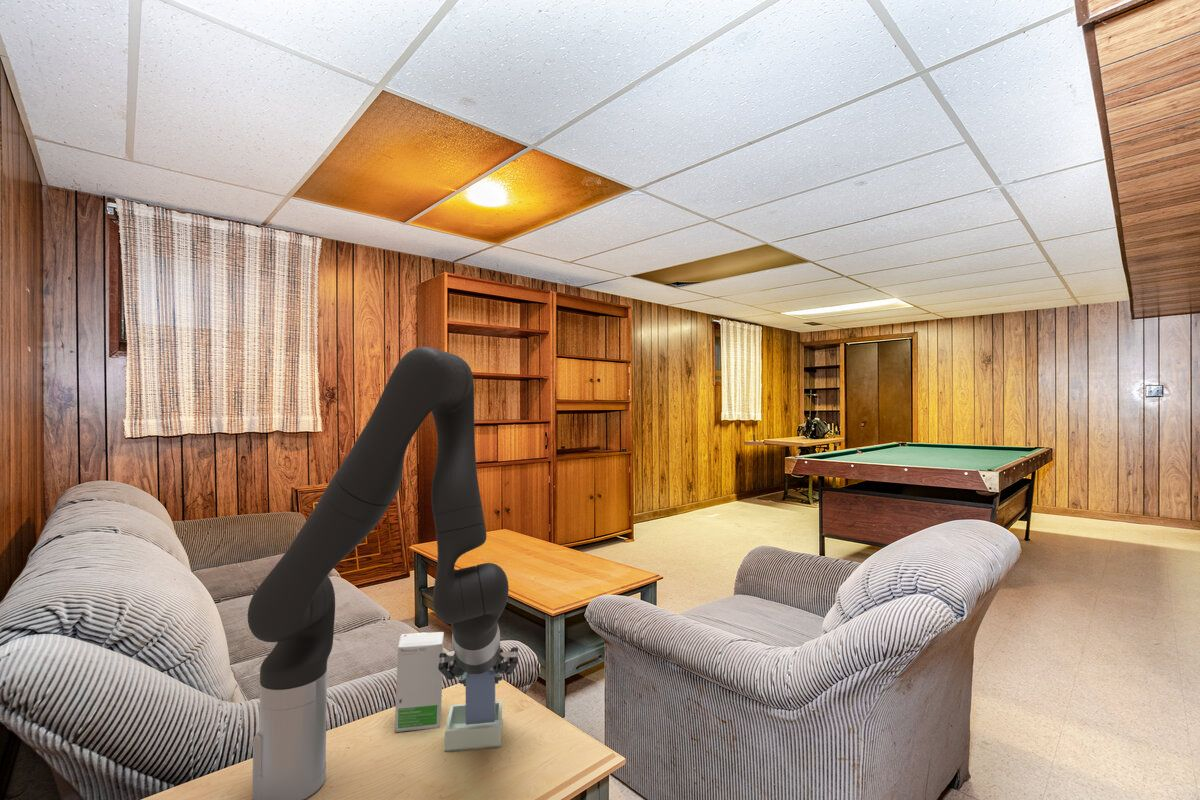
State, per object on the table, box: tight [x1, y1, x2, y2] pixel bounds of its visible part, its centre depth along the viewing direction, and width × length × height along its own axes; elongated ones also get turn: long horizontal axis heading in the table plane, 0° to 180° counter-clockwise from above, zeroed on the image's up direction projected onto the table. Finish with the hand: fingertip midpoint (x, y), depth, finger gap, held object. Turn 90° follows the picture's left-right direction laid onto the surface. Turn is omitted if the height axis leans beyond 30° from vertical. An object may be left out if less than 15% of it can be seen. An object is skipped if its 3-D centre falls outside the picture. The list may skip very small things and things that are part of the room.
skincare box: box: [394, 631, 445, 733], centre depth 104 cm, size 8×7×16 cm
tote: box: [444, 700, 503, 753], centre depth 99 cm, size 10×9×4 cm
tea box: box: [465, 672, 496, 725], centre depth 100 cm, size 5×5×12 cm
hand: (481, 679), depth 101 cm, fingers closed on tea box, 5 cm apart
